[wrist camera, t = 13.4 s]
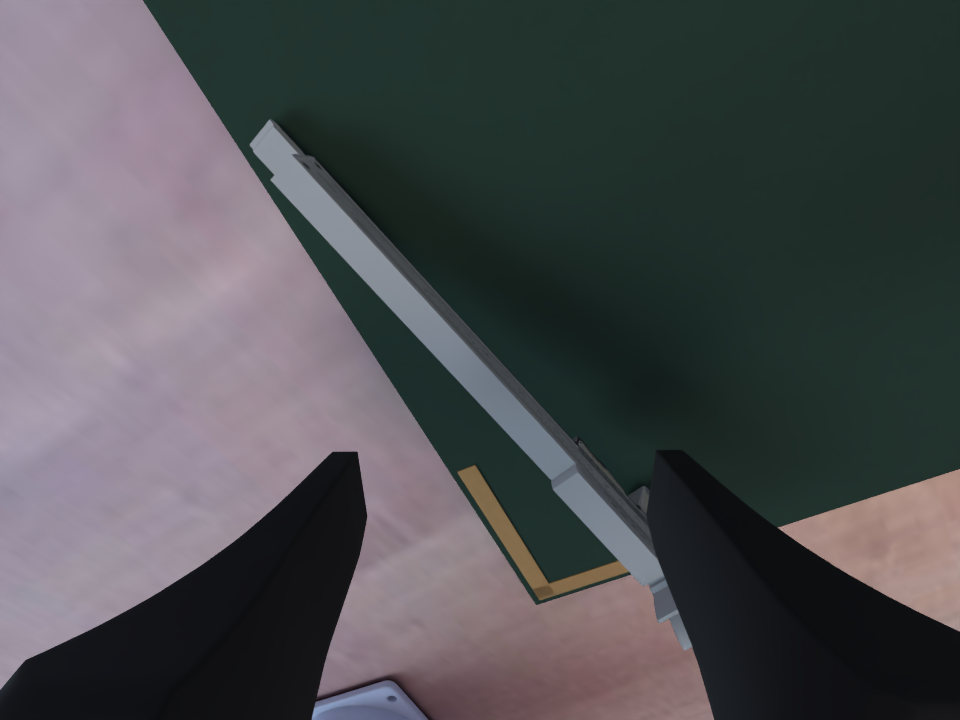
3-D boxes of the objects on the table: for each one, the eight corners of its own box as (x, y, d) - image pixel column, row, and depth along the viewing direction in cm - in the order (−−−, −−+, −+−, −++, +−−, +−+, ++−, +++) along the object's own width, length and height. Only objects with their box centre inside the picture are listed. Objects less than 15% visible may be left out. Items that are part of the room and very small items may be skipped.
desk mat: (1068, 425, 20) (1080, 432, 19) (535, 598, 25) (536, 606, 24) (1021, -1989, 6) (1061, -2148, 6) (-188, -522, 11) (-216, -547, 10)
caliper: (675, 513, 22) (741, 658, 16) (653, 527, 22) (709, 673, 16) (275, 117, 15) (150, 125, 10) (253, 145, 16) (119, 168, 10)
